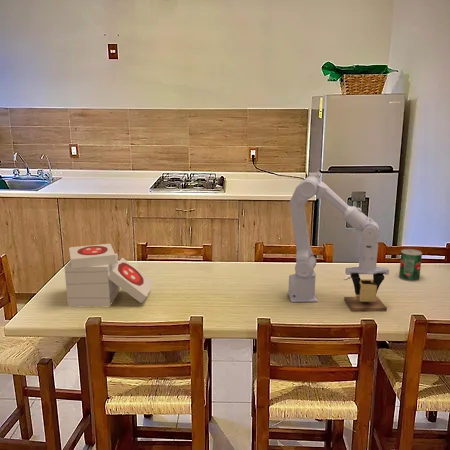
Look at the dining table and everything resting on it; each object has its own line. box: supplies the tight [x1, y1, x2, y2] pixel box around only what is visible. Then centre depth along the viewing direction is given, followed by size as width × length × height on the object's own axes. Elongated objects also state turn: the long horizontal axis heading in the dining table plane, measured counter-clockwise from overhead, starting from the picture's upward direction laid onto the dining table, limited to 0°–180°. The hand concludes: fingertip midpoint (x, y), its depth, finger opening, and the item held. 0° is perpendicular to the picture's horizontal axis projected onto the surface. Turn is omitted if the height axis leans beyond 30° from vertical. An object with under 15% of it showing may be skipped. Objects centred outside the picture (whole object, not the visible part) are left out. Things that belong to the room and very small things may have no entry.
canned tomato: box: [398, 248, 423, 282], centre depth 196 cm, size 8×8×11 cm
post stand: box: [343, 295, 388, 312], centre depth 170 cm, size 12×10×4 cm
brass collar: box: [355, 278, 378, 302], centre depth 169 cm, size 6×6×6 cm
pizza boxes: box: [64, 243, 154, 307], centre depth 175 cm, size 19×30×18 cm, turn 89°
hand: (365, 293), depth 170 cm, fingers closed on brass collar, 6 cm apart
